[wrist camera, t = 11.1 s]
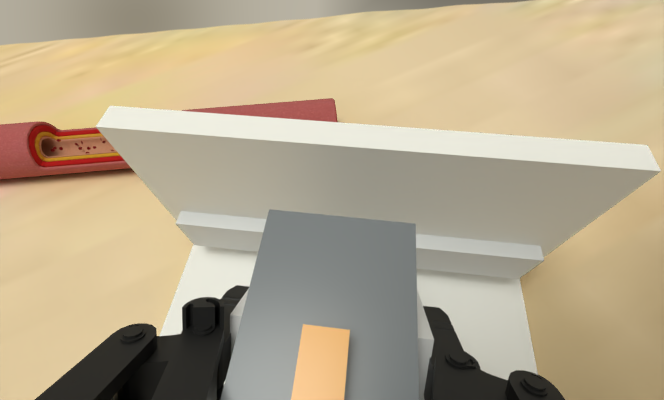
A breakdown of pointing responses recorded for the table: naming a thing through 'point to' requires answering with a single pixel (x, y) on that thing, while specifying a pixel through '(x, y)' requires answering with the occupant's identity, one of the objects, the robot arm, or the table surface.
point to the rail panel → (381, 203)
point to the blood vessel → (98, 154)
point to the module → (329, 312)
